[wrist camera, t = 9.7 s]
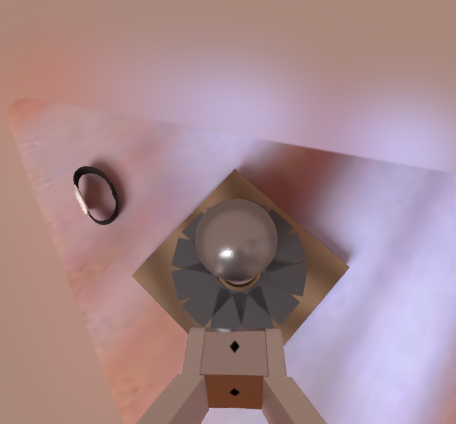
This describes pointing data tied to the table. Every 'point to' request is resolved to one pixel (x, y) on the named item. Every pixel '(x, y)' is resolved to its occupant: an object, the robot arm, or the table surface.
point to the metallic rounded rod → (236, 241)
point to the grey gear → (248, 299)
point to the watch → (81, 200)
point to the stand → (314, 285)
